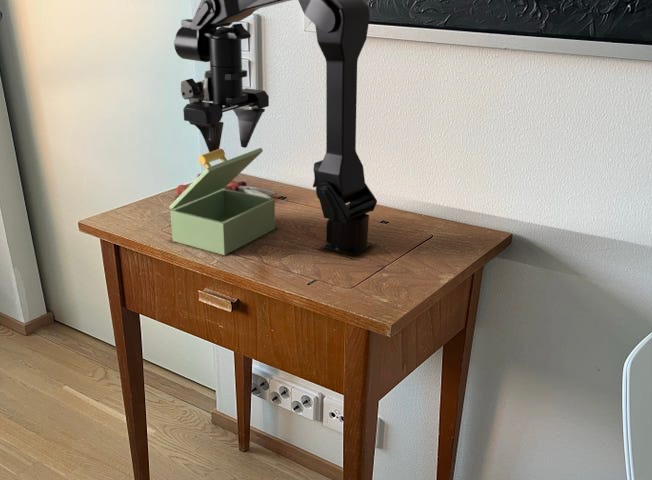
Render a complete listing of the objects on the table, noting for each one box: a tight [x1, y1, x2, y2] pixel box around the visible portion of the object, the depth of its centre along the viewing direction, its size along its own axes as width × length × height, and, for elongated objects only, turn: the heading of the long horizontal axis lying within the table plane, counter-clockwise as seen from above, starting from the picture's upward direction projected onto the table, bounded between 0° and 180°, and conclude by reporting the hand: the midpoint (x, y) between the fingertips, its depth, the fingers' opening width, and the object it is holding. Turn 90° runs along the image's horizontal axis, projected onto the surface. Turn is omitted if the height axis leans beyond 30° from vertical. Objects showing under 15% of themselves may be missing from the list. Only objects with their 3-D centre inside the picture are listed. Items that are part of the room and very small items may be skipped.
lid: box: [168, 147, 264, 211], centre depth 130 cm, size 12×15×4 cm
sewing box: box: [169, 188, 276, 256], centre depth 133 cm, size 12×15×6 cm
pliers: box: [176, 172, 277, 199], centre depth 154 cm, size 12×20×3 cm, turn 68°
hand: (229, 152), depth 139 cm, fingers open, 9 cm apart
